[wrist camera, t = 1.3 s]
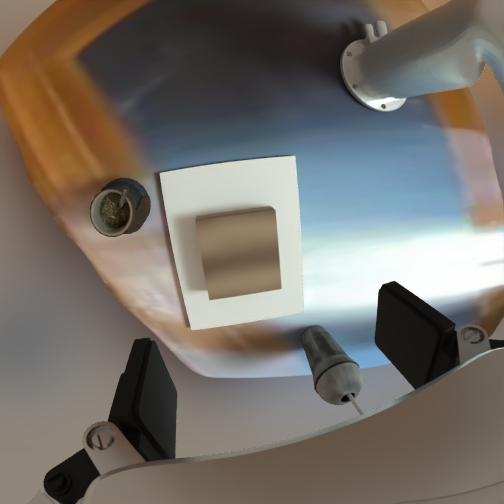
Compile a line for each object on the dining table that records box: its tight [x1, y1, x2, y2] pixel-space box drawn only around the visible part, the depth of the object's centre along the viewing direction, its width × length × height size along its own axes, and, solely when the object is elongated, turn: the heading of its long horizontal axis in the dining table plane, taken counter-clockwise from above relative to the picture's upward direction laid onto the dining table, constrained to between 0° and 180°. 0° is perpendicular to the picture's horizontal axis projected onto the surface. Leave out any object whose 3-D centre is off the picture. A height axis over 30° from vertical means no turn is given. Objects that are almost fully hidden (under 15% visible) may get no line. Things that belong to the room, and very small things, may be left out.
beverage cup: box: [302, 325, 364, 415], centre depth 37 cm, size 7×7×20 cm
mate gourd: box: [90, 178, 151, 237], centre depth 30 cm, size 7×8×10 cm
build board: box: [160, 156, 304, 330], centre depth 39 cm, size 24×18×1 cm
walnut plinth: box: [195, 206, 282, 300], centre depth 37 cm, size 11×10×3 cm
